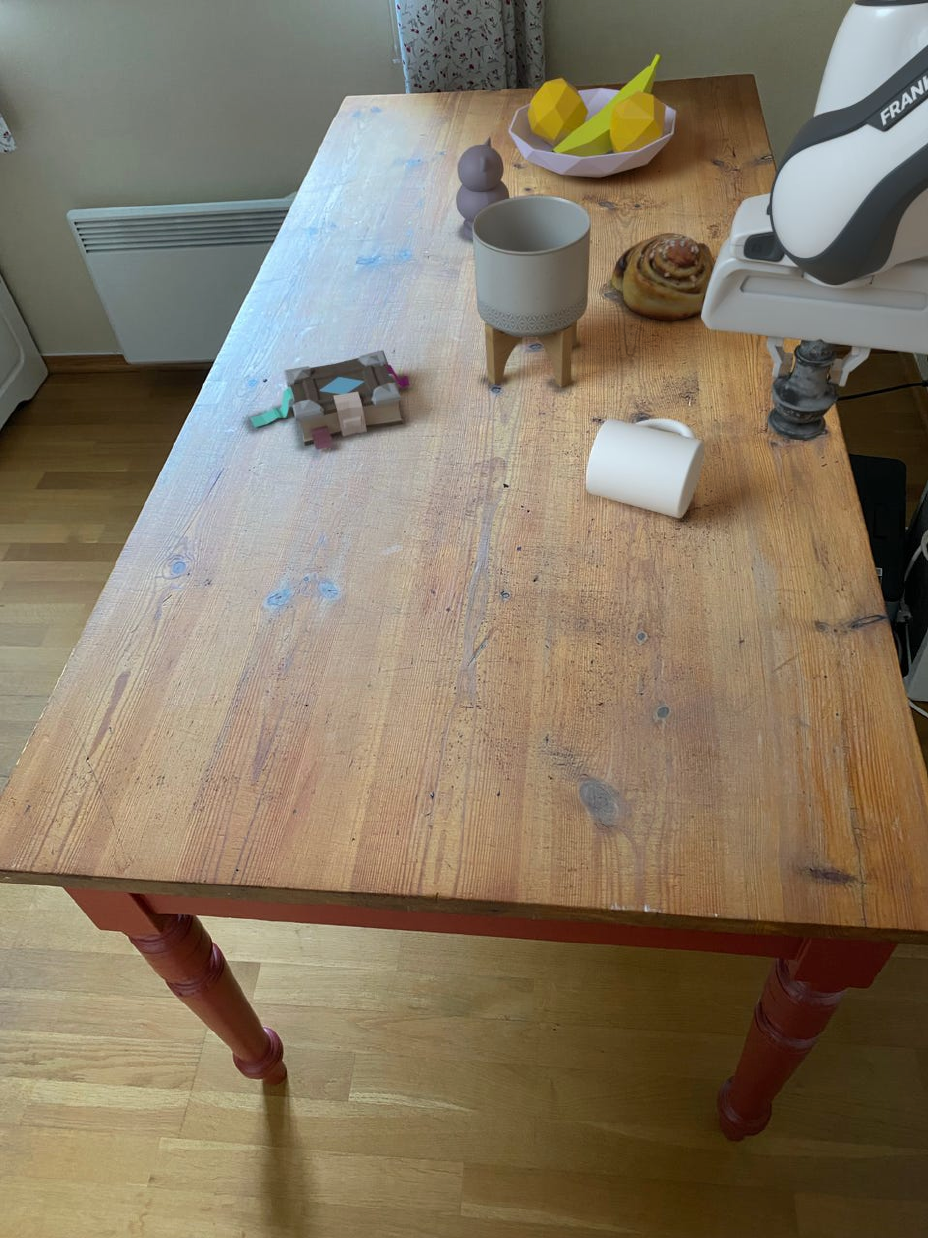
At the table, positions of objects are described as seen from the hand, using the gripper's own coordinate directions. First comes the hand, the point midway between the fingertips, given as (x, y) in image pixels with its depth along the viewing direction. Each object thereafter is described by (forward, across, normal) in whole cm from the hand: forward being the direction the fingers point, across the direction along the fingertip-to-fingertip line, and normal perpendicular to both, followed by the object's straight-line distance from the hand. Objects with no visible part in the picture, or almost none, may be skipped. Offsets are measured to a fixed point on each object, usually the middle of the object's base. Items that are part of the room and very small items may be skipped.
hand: (807, 378), depth 80 cm
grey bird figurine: (+16, +47, -50) cm, 70 cm away
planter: (+16, +31, -19) cm, 40 cm away
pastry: (+16, +18, -39) cm, 46 cm away
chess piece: (+5, 0, 0) cm, 5 cm away
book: (+16, +51, -3) cm, 53 cm away
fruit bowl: (+16, +36, -77) cm, 87 cm away
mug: (+16, +13, 0) cm, 20 cm away
